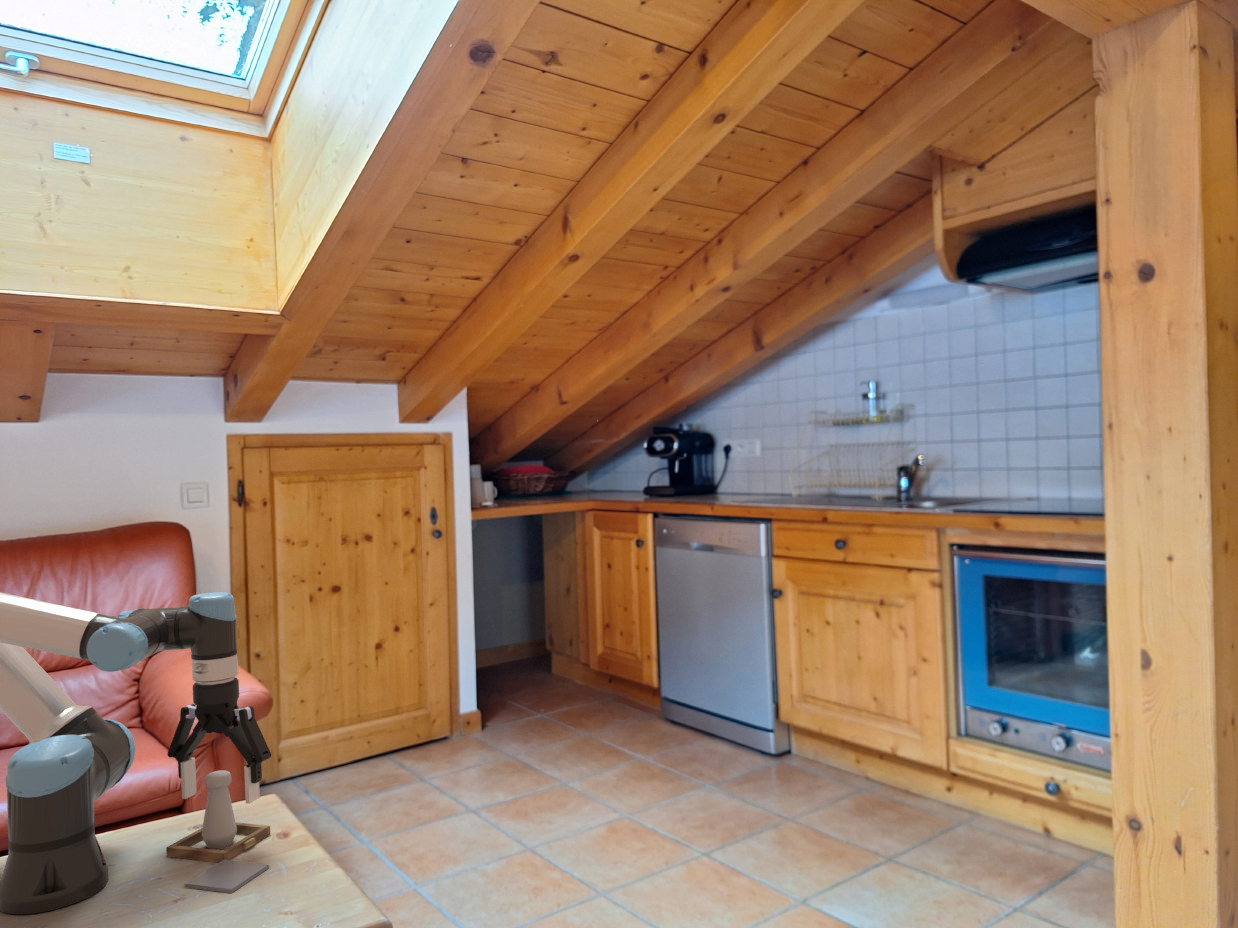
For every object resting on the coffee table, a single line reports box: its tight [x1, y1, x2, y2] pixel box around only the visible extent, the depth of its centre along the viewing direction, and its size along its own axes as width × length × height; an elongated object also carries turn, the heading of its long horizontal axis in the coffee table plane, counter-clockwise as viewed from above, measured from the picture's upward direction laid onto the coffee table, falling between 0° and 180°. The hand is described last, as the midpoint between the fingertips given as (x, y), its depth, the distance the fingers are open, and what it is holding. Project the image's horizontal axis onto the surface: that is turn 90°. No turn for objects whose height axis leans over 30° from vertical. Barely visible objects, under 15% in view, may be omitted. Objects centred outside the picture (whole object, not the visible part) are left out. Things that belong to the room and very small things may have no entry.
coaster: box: [184, 859, 270, 894], centre depth 145 cm, size 9×9×1 cm
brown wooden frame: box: [165, 821, 271, 863], centre depth 158 cm, size 13×12×2 cm
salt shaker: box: [201, 769, 237, 850], centre depth 158 cm, size 6×6×13 cm
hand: (220, 798), depth 158 cm, fingers open, 13 cm apart
